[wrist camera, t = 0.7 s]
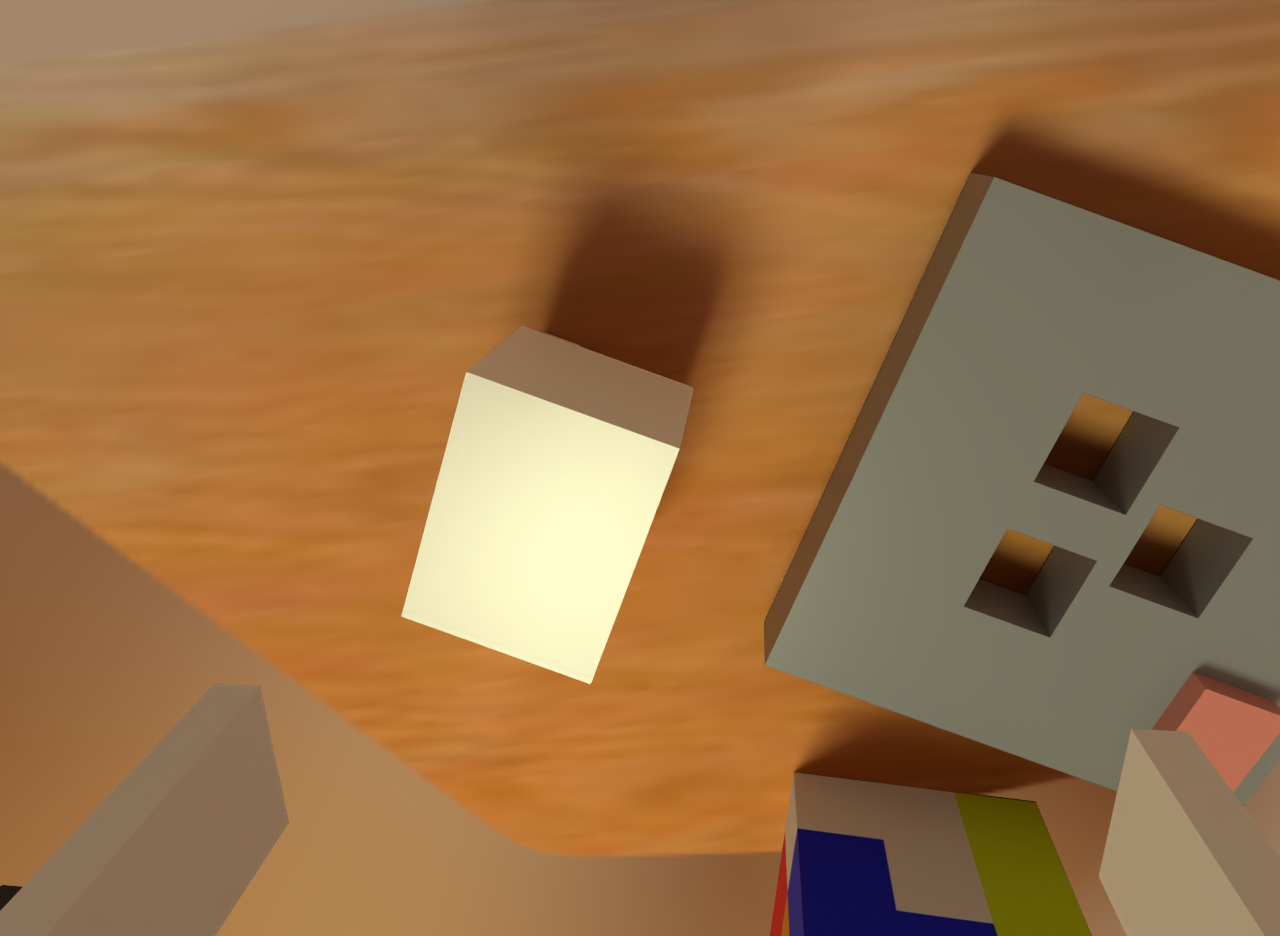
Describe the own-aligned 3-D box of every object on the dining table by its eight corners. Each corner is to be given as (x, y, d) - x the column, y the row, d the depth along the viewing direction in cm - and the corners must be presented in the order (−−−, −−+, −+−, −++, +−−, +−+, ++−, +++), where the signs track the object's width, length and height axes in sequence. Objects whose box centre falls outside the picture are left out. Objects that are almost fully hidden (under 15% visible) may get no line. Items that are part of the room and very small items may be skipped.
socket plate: (763, 622, 35) (765, 681, 31) (970, 172, 28) (1003, 178, 24) (1186, 774, 35) (1237, 850, 31) (1493, 362, 28) (1604, 397, 25)
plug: (486, 499, 34) (401, 616, 26) (542, 308, 32) (466, 371, 23) (630, 550, 35) (590, 684, 26) (699, 365, 32) (679, 448, 23)
